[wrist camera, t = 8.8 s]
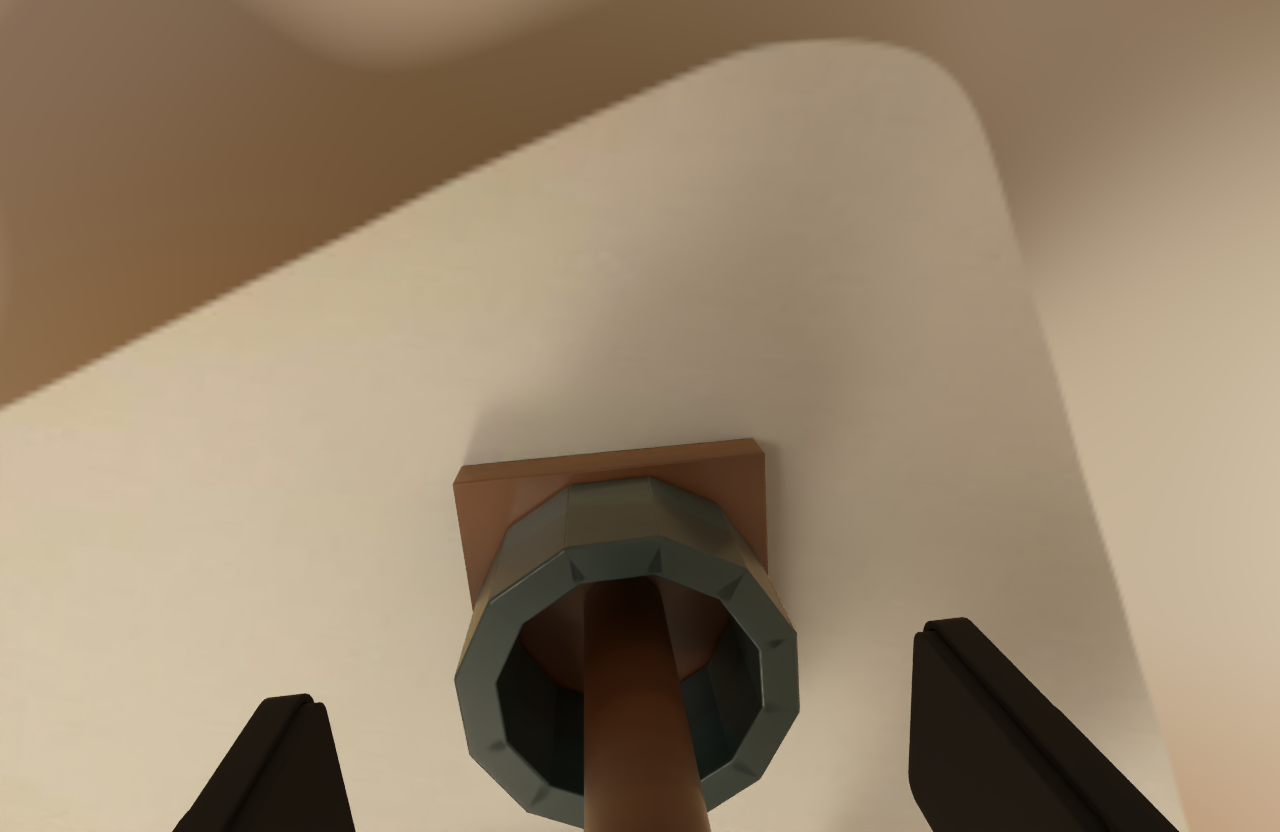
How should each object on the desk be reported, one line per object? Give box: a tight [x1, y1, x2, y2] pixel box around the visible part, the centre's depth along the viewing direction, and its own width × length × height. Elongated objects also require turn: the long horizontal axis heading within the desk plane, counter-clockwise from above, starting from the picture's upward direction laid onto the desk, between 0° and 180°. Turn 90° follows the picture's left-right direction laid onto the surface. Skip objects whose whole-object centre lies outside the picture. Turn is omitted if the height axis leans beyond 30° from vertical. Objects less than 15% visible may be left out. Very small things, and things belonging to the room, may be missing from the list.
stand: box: [453, 438, 768, 832], centre depth 16 cm, size 9×9×12 cm
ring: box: [454, 476, 800, 829], centre depth 19 cm, size 8×8×4 cm
